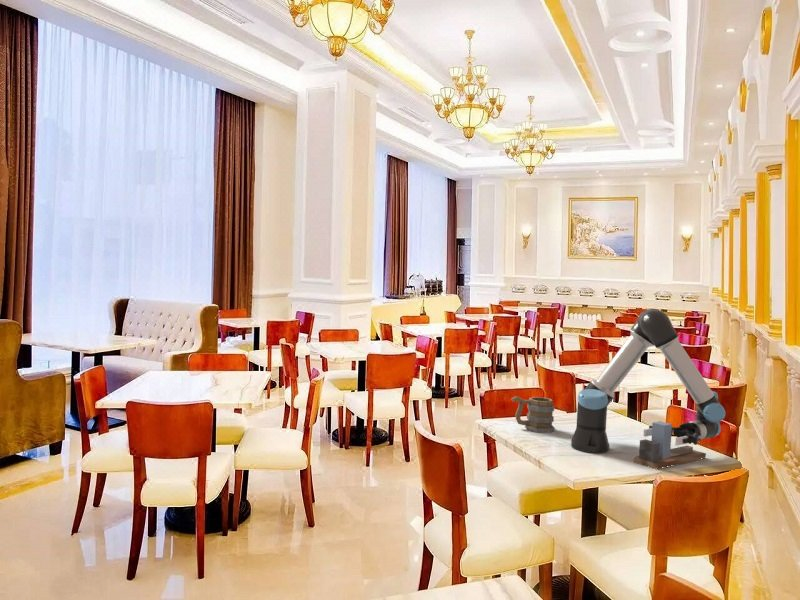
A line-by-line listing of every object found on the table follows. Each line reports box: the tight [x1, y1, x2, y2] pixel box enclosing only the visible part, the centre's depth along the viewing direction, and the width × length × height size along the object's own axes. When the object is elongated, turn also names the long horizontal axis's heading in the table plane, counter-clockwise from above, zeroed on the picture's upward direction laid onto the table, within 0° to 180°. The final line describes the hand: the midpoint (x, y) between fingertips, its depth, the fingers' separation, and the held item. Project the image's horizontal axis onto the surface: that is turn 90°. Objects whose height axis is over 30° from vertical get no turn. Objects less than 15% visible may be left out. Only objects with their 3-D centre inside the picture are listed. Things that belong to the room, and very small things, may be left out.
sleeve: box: [650, 421, 673, 459], centre depth 237 cm, size 5×5×13 cm
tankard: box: [510, 395, 556, 434], centre depth 282 cm, size 20×13×15 cm, turn 89°
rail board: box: [633, 439, 707, 470], centre depth 241 cm, size 10×32×9 cm, turn 123°
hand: (659, 437), depth 236 cm, fingers open, 13 cm apart
